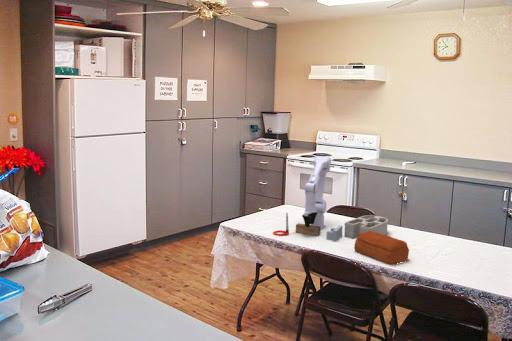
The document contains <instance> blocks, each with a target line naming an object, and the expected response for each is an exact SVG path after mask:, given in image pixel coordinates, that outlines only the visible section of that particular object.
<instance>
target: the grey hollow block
mask: <svg viewBox="0 0 512 341" xmlns="http://www.w3.org/2000/svg"><path fill="white" fill-rule="evenodd" d="M388 224H389V219H388V218H387V217H384V216H379V215H371V214H370V215H362V216H358V217H355V218H354V219H351V220H348V221H345V222H344V224H343V225H344V237H346V238H350V239H355V238H357V236H358V235H359V234H360V233H363V232H367V231H374V232H377V233H380V234H383V235H387V233H388Z"/></svg>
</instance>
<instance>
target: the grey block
mask: <svg viewBox="0 0 512 341" xmlns="http://www.w3.org/2000/svg"><path fill="white" fill-rule="evenodd" d="M342 236H343V225H338V226H337V227H331V228H330V230H327V231H326V240H329V241H332V242H337V241H338V240H340V238H341V237H342Z"/></svg>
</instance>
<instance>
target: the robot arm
mask: <svg viewBox="0 0 512 341" xmlns="http://www.w3.org/2000/svg"><path fill="white" fill-rule="evenodd" d="M331 159H332V158H331V157H324V156H314V158H313V163H312V164H313V166H314V170H313V172H312V173H311V174H310V177H309V179H308V182H306V183H305V184H304V194H305V206H304V208H305V210H304V213H303V214H302V215H301V217H302V219H303V221H304V224H305V227H309V226H310V225H314V226H321V230H322V229H324V228H325V227H326V225H325V214H326V211H327V201H326V200H325V199H324V198H323V197H324V189H325V184H326V177H327V173H329V172H330V170H331V166H332V160H331Z"/></svg>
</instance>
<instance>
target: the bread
mask: <svg viewBox="0 0 512 341" xmlns="http://www.w3.org/2000/svg"><path fill="white" fill-rule="evenodd" d="M353 248H354V252H357V253H359V254H361V255H364V256H367V257H369V256H370V258H372V257H373V258H372V259H375V260H377V259H378V261H380V260H381V261H380V262H382V261H383V263H385V262H386V263H385V264H388V263H390V264H389V265H391V264H397V263H400V262H404V263H406V262H405V261H407V262H408V259H409V253H410V249H409V246H408V243H407V242H406V241H404V240H401V239H398V238H394V237H393V236H390V235H387V234H386V235H383V234H380V233H377V232H374V231H367V232H363V233H360V234H359V235H358V236H357V237H356V239H355V243H354V247H353ZM400 264H401V263H400ZM397 265H398V264H397Z"/></svg>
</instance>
